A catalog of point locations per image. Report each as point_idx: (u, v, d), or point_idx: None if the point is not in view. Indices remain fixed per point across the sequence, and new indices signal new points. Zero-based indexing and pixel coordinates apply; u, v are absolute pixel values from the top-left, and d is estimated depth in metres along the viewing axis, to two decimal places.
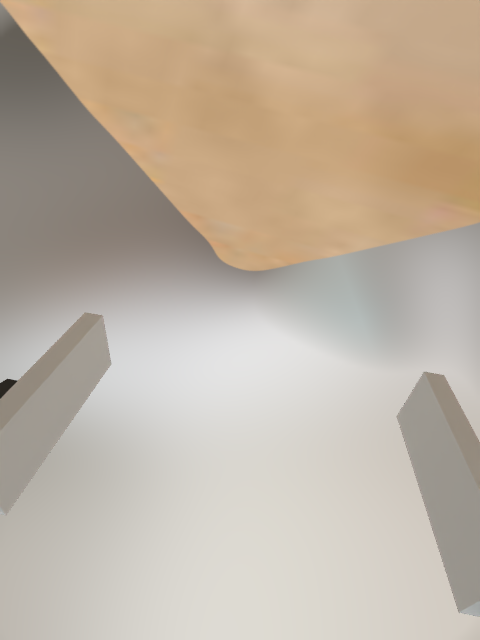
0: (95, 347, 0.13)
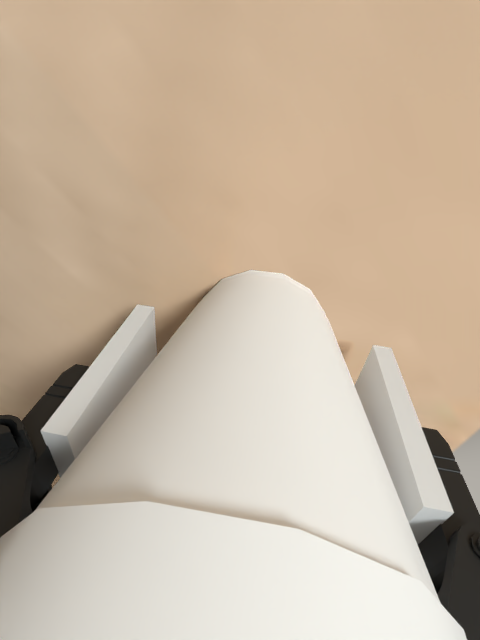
0: (148, 337, 0.14)
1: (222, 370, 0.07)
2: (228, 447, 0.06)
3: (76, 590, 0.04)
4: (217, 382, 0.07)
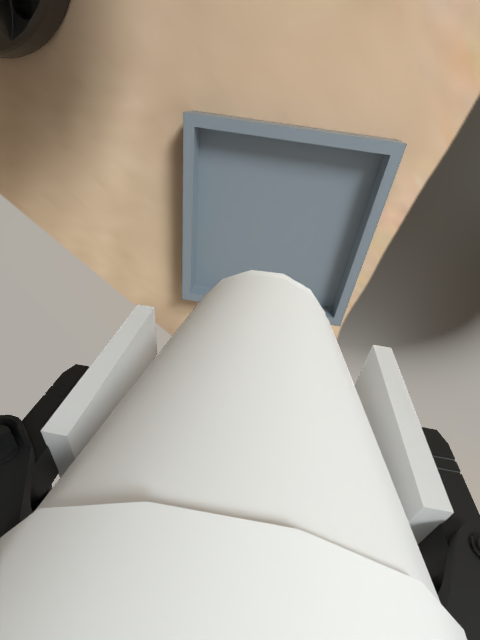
0: (148, 337, 0.14)
1: (222, 370, 0.07)
2: (229, 447, 0.06)
3: (76, 590, 0.04)
4: (217, 382, 0.07)
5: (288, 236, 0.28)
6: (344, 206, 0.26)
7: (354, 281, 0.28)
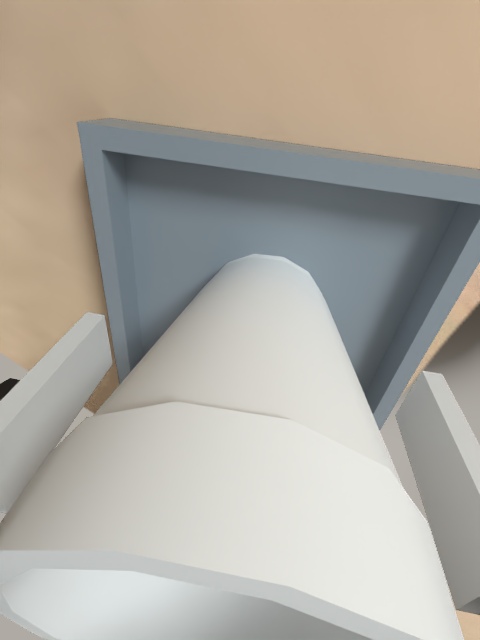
0: (97, 347, 0.13)
1: (230, 325, 0.09)
2: (237, 374, 0.07)
3: (126, 455, 0.05)
4: (226, 333, 0.08)
5: None
6: (382, 281, 0.15)
7: (395, 398, 0.17)
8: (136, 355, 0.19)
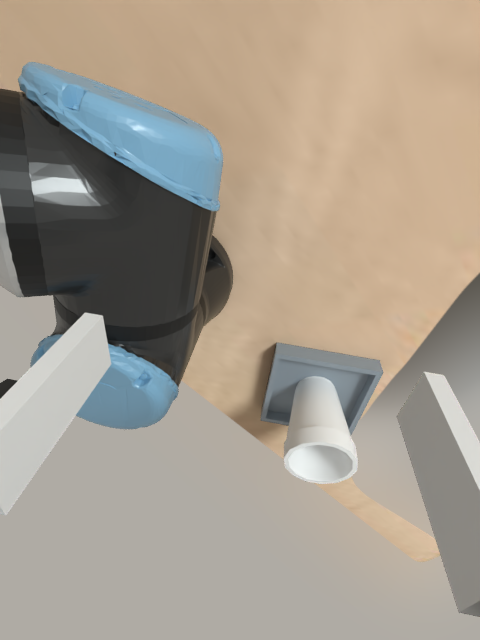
0: (95, 347, 0.13)
1: (318, 408, 0.44)
2: (324, 420, 0.42)
3: (314, 432, 0.40)
4: (319, 411, 0.44)
5: None
6: (353, 384, 0.50)
7: (358, 419, 0.52)
8: None
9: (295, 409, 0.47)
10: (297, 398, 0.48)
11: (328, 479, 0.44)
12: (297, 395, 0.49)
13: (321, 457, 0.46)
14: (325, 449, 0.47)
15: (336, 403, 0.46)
